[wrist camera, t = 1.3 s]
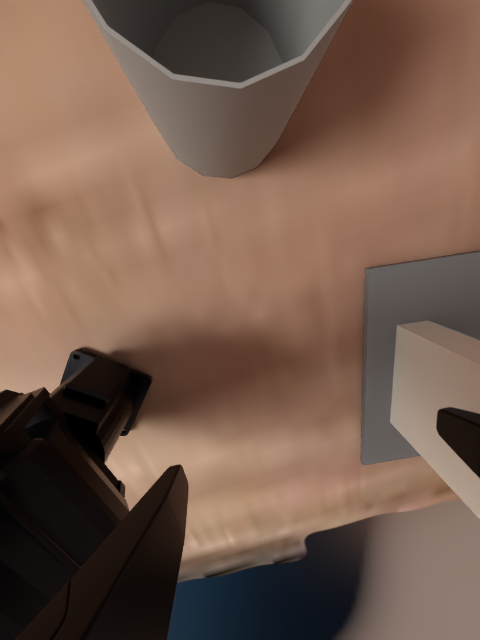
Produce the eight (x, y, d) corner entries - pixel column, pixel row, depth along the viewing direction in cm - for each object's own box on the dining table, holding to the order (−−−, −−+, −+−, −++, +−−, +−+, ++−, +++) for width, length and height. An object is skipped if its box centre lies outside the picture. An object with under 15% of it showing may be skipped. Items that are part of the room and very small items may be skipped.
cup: (152, 170, 16) (44, 62, 6) (146, 1, 13) (-48, -611, 4) (278, 183, 16) (352, 103, 7) (295, 24, 14) (449, -436, 4)
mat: (360, 461, 25) (363, 465, 24) (365, 268, 19) (369, 268, 18) (545, 430, 25) (551, 433, 25) (611, 230, 19) (621, 230, 19)
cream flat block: (390, 422, 23) (553, 599, 12) (396, 325, 20) (631, 437, 8) (420, 417, 23) (613, 588, 12) (432, 319, 20) (712, 423, 8)
